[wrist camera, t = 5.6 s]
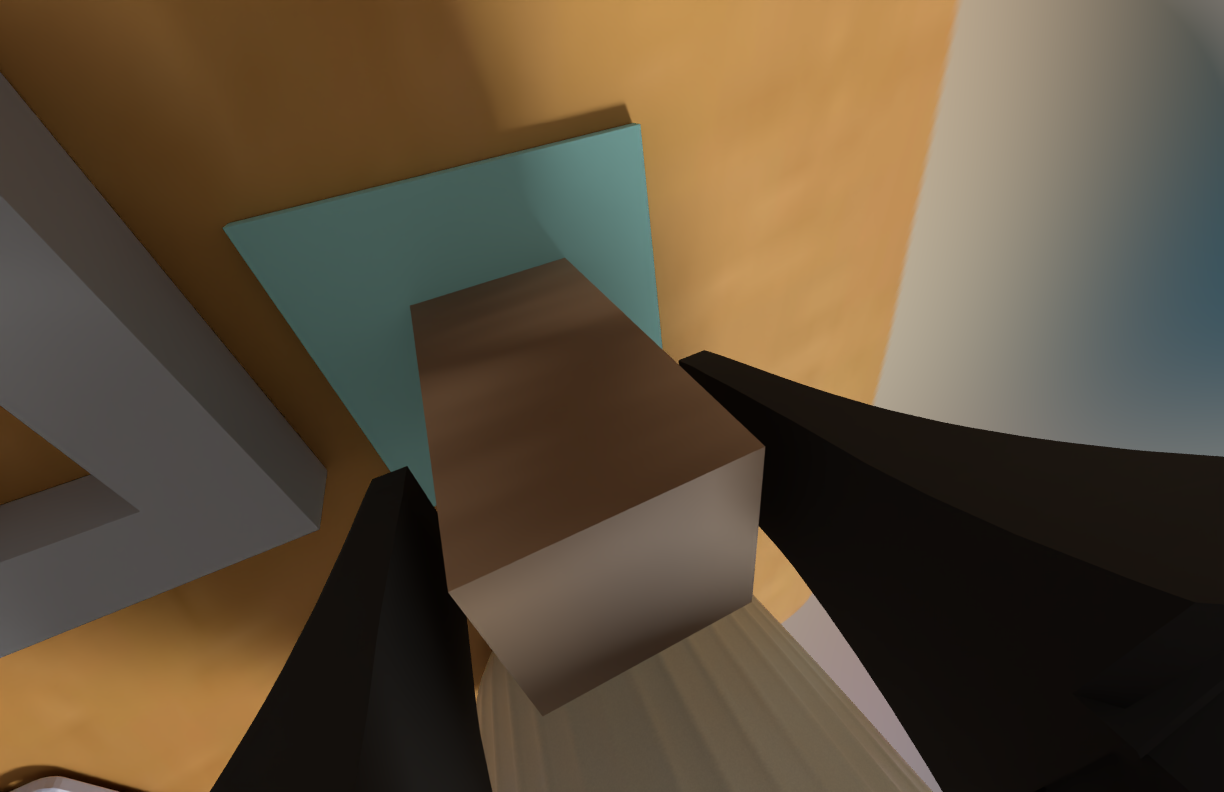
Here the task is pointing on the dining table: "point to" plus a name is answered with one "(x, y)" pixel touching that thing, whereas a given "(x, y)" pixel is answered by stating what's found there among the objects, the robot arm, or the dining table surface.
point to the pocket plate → (122, 410)
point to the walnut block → (579, 481)
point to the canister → (694, 724)
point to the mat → (447, 263)
